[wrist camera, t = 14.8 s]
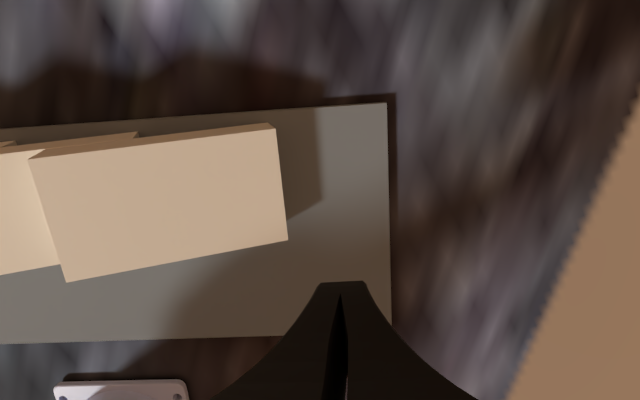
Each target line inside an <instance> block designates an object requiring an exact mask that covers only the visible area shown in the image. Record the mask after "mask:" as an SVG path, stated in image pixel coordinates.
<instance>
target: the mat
mask: <svg viewBox="0 0 640 400" xmlns="http://www.w3.org/2000/svg"><path fill="white" fill-rule="evenodd" d="M267 122H268V123H269V124H270V125H272V126H273V127H274V128H276V136H277V145H278V154H279V163H280V172H281V180H282V189H283V198H284V207H285V216H286V225H287V233H288V240H286V241H281V242H276V243H270V244H265V245H260V246H255V247H250V248H244V249H239V250H234V251H229V252H224V253H218V254H213V255H208V256H203V257H197V258H192V259H187V260H182V261H177V262H171V263H166V264H161V265H156V266H151V267H145V268H140V269H135V270H130V271H125V272H119V273H114V274H109V275H104V276H99V277H93V278H88V279H83V280H78V281H73V282H67V283H66V281H65V277H64V274H63V271H62V268H61V265H60V264H58V265H53V266H47V267H42V268H37V269H31V270H26V271H20V272H15V273H9V274H4V275H0V344H19V343H52V342H86V341H119V340H153V339H186V338H220V337H253V336H284V335H285V333H286V332H287V331H288V330H289V328H290V327H291V326H292V325H293V323H294V322H295V321H296V319H297V318H298V316H299V315H300V314H301V312H302V311H303V309H304V308H305V306H306V305H307V303H308V301H309V300H310V298H311V297H312V295H313V293H314V291H315V289H316V287H317V286H318V285H319V284H320V283H323V282H342V281H364V282H365V283H366V284H367V288H368V290H369V292H370V294H371V296H372V298H373V300H374V301H375V303H376V305H377V306H378V308H379V309H380V311H381V312H382V314H383V315H384V316H385V318H386V319H387V321H388V322H389V323H390V325H391V326H392V315H391V270H390V224H389V179H388V134H387V103H386V102H374V103H360V104H346V105H332V106H318V107H303V108H289V109H275V110H261V111H246V112H232V113H218V114H204V115H190V116H175V117H161V118H147V119H133V120H119V121H104V122H90V123H76V124H62V125H47V126H33V127H19V128H5V129H0V142H7V141H16V143H17V146H18V145H26V144H35V143H43V142H52V141H60V140H69V139H77V138H86V137H94V136H103V135H111V134H120V133H128V132H137V131H138V134H139V138H142V137H150V136H159V135H167V134H175V133H184V132H192V131H200V130H208V129H217V128H225V127H233V126H242V125H250V124H258V123H267Z"/></svg>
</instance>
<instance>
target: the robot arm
mask: <svg viewBox="0 0 640 400" xmlns="http://www.w3.org/2000/svg"><path fill="white" fill-rule="evenodd" d="M347 375H348V394H347V400H478V399H476V398H474V397H473V396H471V395H470V394H468V393H467V392H465V391H463V390H462V389H460V388H459V387H457V386H456V385H454V384H453V383H451V382H450V381H449V380H447V379H446V378H445V377H443V376H442V375H441V374H440V373H438V372H437V371H436V370H434V369H433V368H432V367H431V366H429V365H428V364H427V363H426V362H425V361H424V360H423V359H422V358H420V357H419V356H418V355H417V354H416V353H415V352H414V351H413V350H412V349H411V348H410V347H409V346H408V345H407V343H406V342H405V341H404V340H403V339H402V338H401V337H400V336H399V334H398V333H397V332H396V331H395V330H394V328H393V327H392V326H391V325H390V323H389V322H388V321H387V319H386V318H385V316H384V315H383V314H382V312H381V311H380V309H379V308H378V306H377V305H376V303H375V301H374V300H373V298H372V296H371V294H370V292H369V290H368V288H367V284H366V283H365V282H364V281H342V282H323V283H320V284H319V285H318V286H317V287H316V289H315V291H314V293H313V295H312V297H311V298H310V300H309V301H308V303H307V305H306V306H305V308H304V309H303V311H302V312H301V314H300V315H299V316H298V318H297V319H296V321H295V322H294V323H293V325H292V326H291V327H290V328H289V330H288V331H287V332H286V333H285V335H284V336H283V337H282V338H281V340H280V341H279V342H278V343H277V344H276V345H275V346H274V347H273V349H272V350H271V351H270V352H269V353H268V354H267V355H266V356H265V357H264V358H263V359H262V360H261V361H260V362H259V363H258V364H256V365H255V366H254V367H253V368H252V369H250V370H249V371H248V372H247V373H245V374H244V375H243V376H242V377H241V378H239V379H238V380H237V381H236V382H234V383H233V384H232V385H230V386H229V387H227V388H226V389H225V390H223V391H222V392H220V393H219V394H217V395H216V396H214V397H213V398H211V399H210V400H345V392H346V379H347ZM53 392H54V395H55V398H56V400H189V396H188V391H187V387H186V384H185V383H184V382H183V381H182V380H179V379H162V380H118V381H73V382H59V383H58V384H57V385H56V386H55V387H54V389H53ZM177 394H179V395H177ZM180 395H181V396H180Z"/></svg>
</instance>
